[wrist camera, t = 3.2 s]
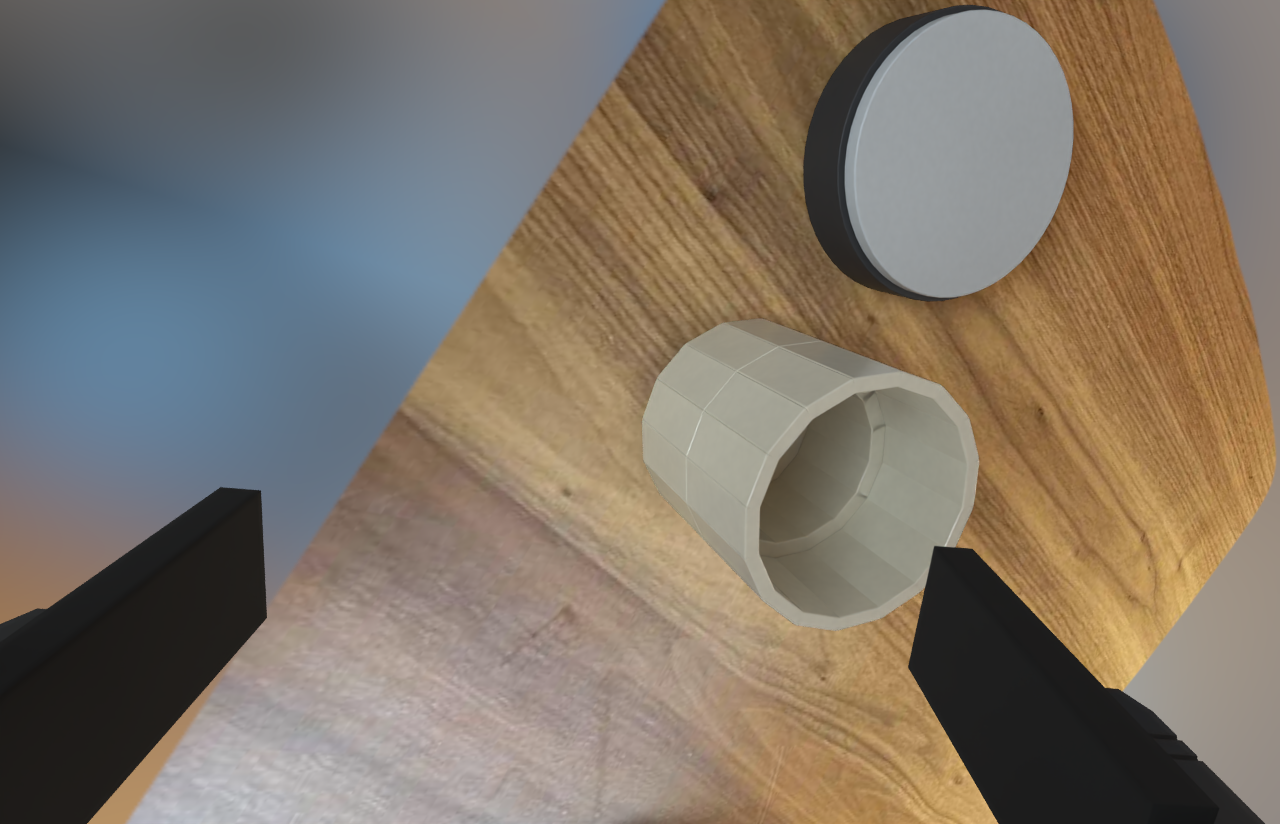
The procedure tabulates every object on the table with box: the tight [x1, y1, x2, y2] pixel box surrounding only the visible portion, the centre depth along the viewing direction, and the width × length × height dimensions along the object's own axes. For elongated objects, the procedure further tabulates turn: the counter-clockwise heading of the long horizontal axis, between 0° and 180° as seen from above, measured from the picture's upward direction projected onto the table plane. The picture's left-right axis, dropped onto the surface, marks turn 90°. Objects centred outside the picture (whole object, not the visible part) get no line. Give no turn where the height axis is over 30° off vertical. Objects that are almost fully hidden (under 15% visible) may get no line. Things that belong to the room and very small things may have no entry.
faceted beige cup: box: [642, 318, 979, 631], centre depth 34 cm, size 10×10×11 cm
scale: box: [803, 5, 1073, 301], centre depth 36 cm, size 13×13×4 cm
